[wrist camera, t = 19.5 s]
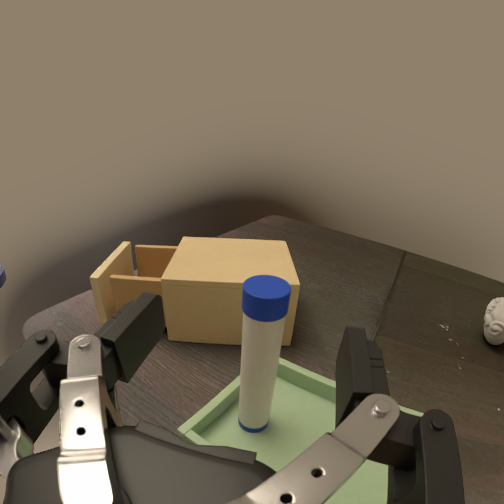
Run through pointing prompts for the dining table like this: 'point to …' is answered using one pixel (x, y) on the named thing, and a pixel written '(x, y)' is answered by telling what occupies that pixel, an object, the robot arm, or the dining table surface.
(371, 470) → the tray
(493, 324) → the frog figurine
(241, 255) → the cabinet
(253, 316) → the marker
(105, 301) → the drawer
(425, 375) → the dining table surface
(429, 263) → the dining table surface
